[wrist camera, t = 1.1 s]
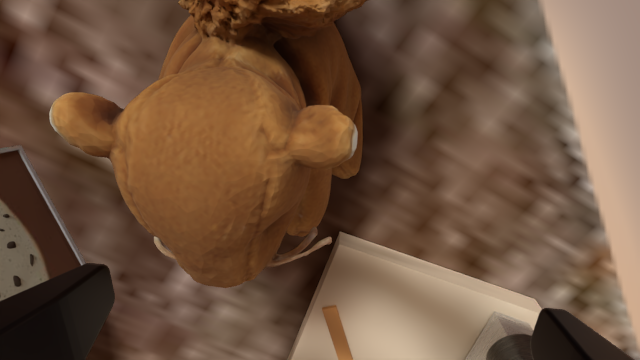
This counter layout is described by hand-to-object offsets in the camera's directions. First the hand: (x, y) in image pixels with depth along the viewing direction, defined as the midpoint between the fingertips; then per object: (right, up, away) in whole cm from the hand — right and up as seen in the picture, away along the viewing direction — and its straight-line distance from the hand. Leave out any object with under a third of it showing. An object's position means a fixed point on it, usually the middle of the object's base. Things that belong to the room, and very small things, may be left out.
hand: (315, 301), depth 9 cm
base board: (+4, -11, +18) cm, 22 cm away
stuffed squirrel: (-2, +9, +12) cm, 15 cm away
